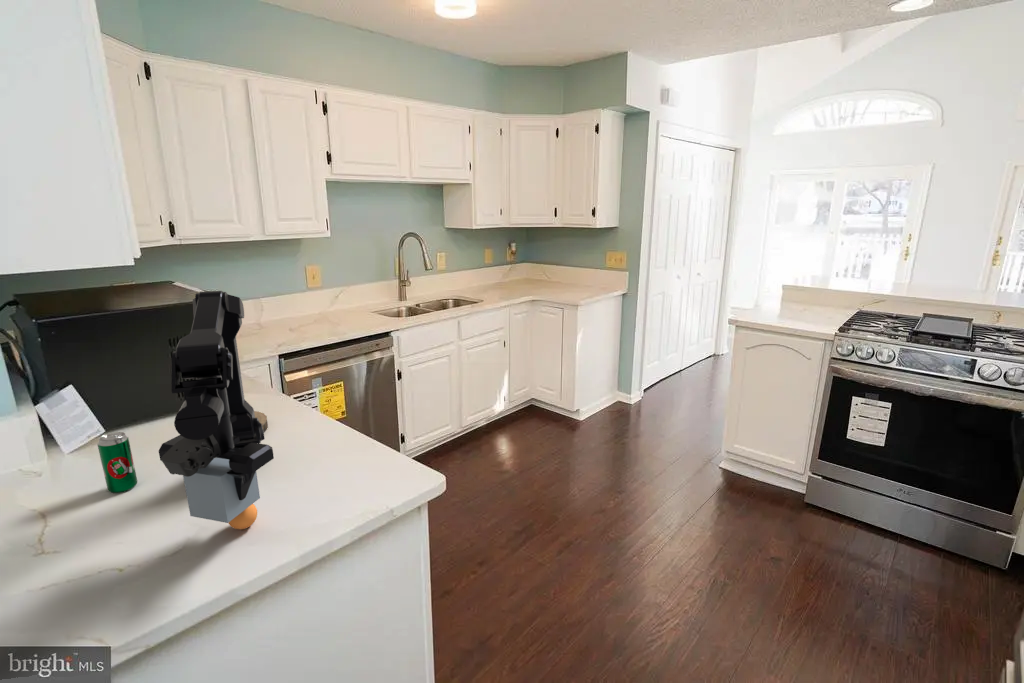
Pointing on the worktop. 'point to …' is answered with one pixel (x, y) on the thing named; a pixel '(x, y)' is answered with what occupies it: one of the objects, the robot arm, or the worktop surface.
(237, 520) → the ball
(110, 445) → the soda can
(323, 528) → the worktop surface
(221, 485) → the matte gray cuboid
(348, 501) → the worktop surface
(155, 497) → the worktop surface
